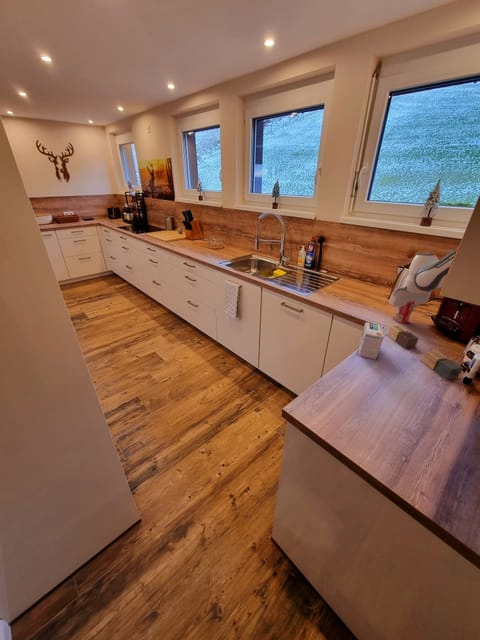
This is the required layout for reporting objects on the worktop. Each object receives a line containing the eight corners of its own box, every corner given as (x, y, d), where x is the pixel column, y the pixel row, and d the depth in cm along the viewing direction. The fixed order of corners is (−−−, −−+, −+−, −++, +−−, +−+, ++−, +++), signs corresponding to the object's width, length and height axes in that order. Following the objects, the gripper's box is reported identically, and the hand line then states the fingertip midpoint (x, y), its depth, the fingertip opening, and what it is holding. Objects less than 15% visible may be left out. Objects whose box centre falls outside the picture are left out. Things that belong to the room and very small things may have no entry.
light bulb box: (358, 342, 116) (365, 321, 111) (375, 346, 114) (382, 324, 108) (358, 355, 107) (365, 333, 102) (376, 360, 105) (384, 337, 100)
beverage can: (406, 319, 137) (414, 298, 131) (408, 325, 132) (416, 303, 126) (393, 317, 139) (401, 296, 133) (394, 322, 134) (402, 300, 128)
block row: (396, 334, 123) (399, 325, 121) (457, 378, 97) (463, 367, 94) (387, 335, 122) (390, 326, 120) (446, 380, 96) (452, 369, 93)
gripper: (400, 290, 122) (391, 316, 128) (436, 288, 126) (425, 313, 132) (390, 285, 127) (382, 310, 134) (425, 283, 131) (415, 308, 138)
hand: (404, 312), depth 133 cm, fingers closed on beverage can, 6 cm apart
